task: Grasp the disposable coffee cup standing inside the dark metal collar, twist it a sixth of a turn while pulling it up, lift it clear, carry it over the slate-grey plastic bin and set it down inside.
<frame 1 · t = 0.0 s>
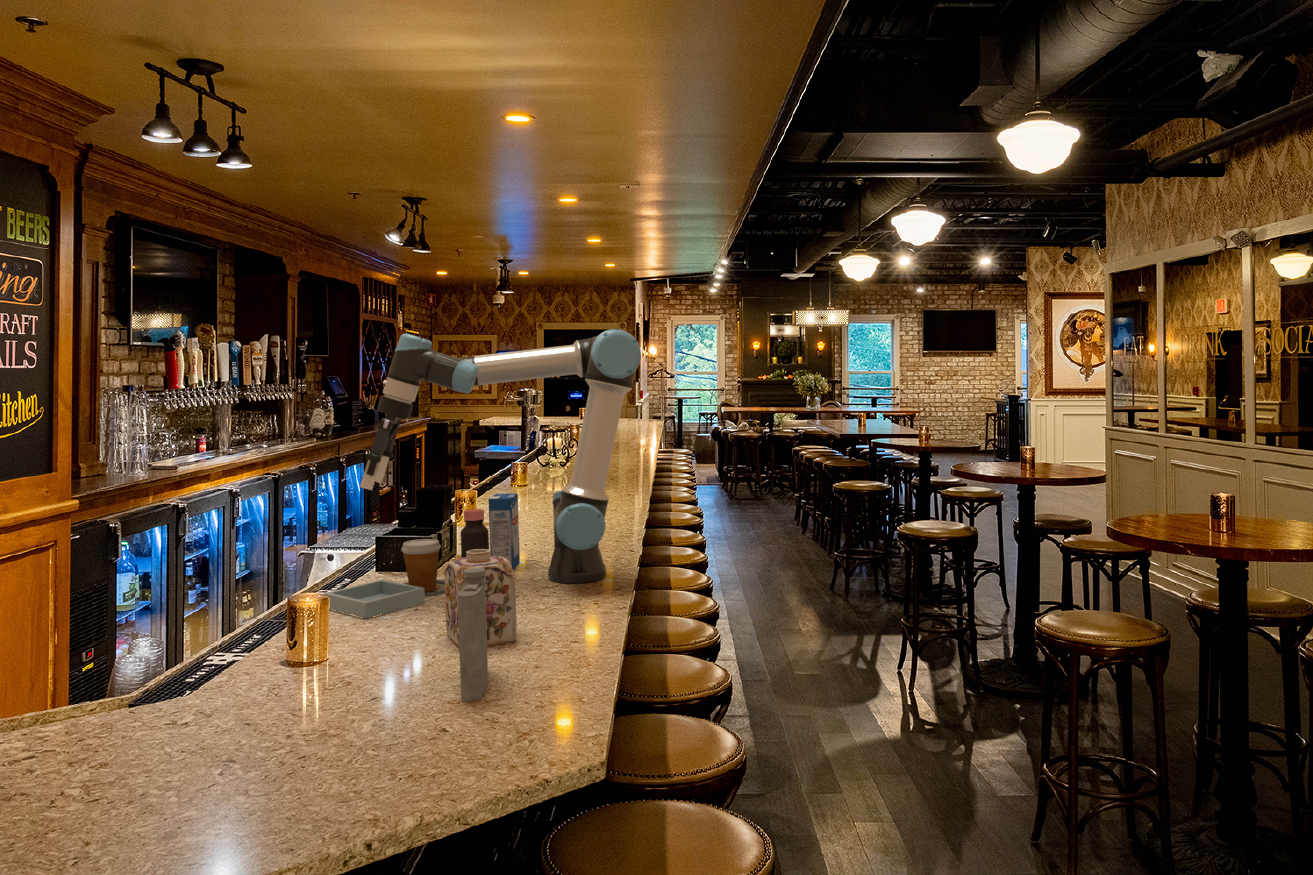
hand: (371, 485, 199), 28 cm above the bar counter, tool tilted 20°, fingers open, 13 cm apart
bin: (374, 605, 197), on the bar counter
decorative jar: (481, 639, 171), on the bar counter
milk carton: (505, 567, 235), on the bar counter
collar: (422, 589, 211), on the bar counter
hip flask: (476, 685, 145), on the bar counter
bottle: (476, 590, 210), on the bar counter
disposable coffee cup: (422, 590, 211), resting in collar
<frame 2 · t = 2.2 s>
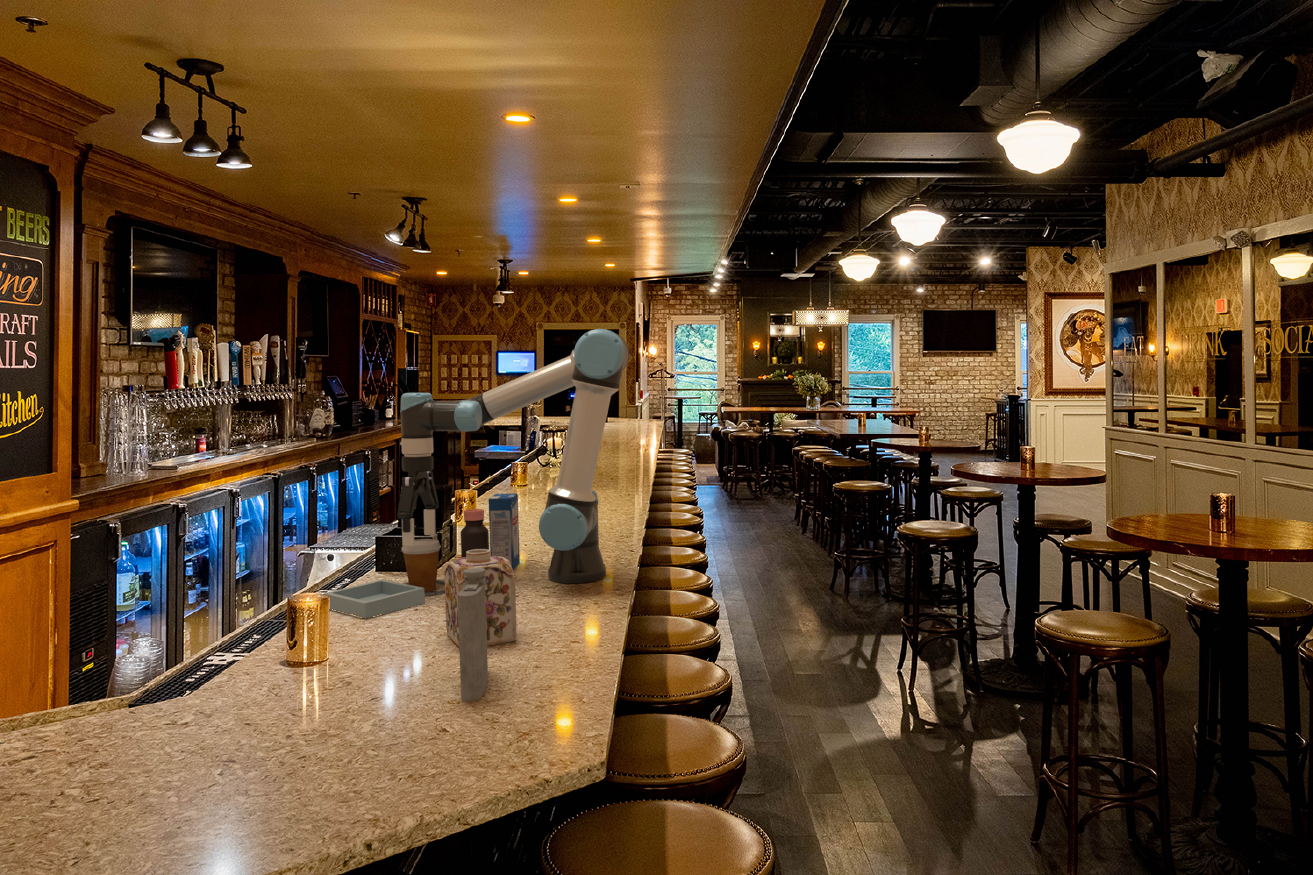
hand: (419, 539, 210), 13 cm above the bar counter, tool pointing down, fingers open, 13 cm apart
nothing on the bar counter moved.
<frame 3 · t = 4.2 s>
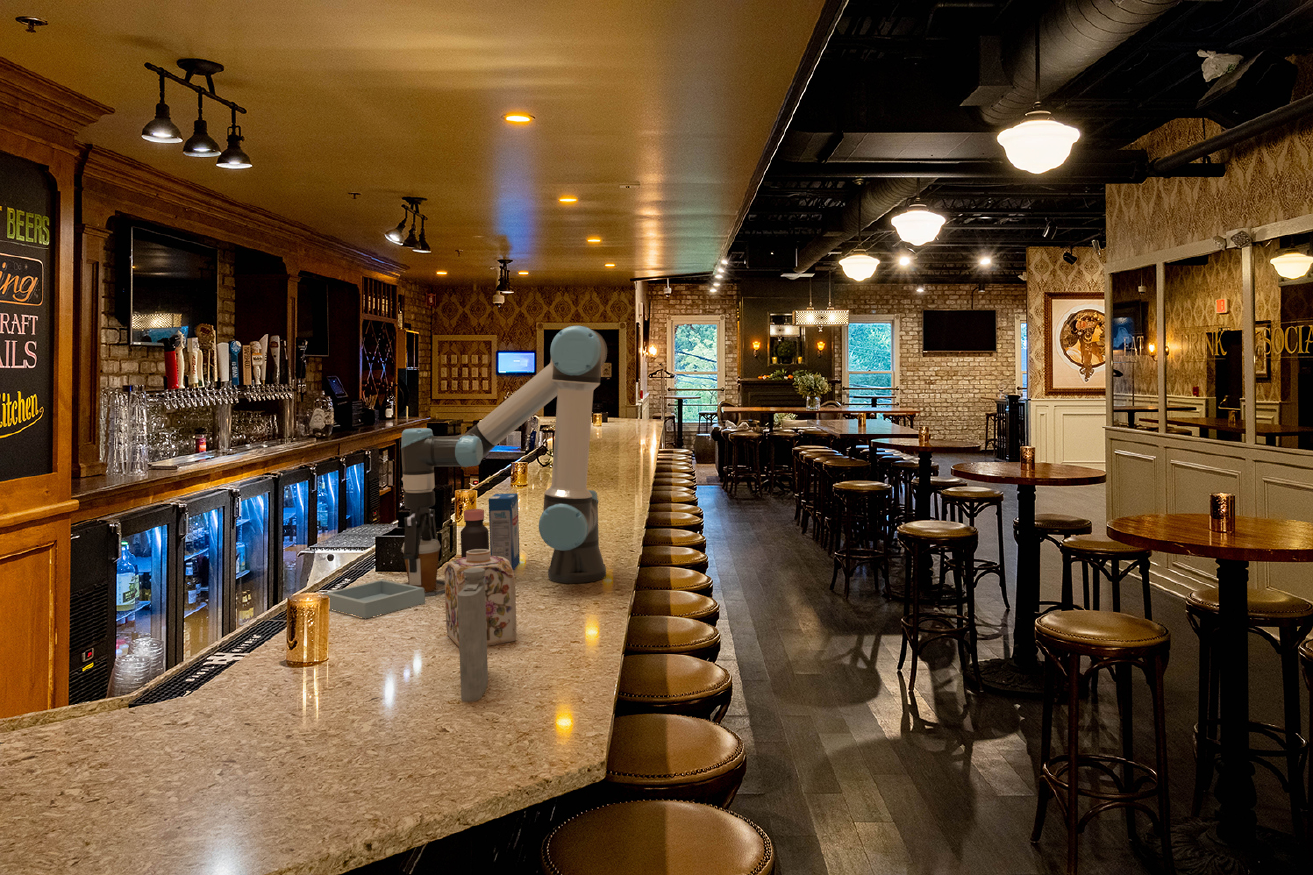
hand: (422, 580, 211), 2 cm above the bar counter, tool pointing down, fingers closed on disposable coffee cup, 8 cm apart
disposable coffee cup: (422, 590, 211), resting in collar, touching gripper
everything else where it was.
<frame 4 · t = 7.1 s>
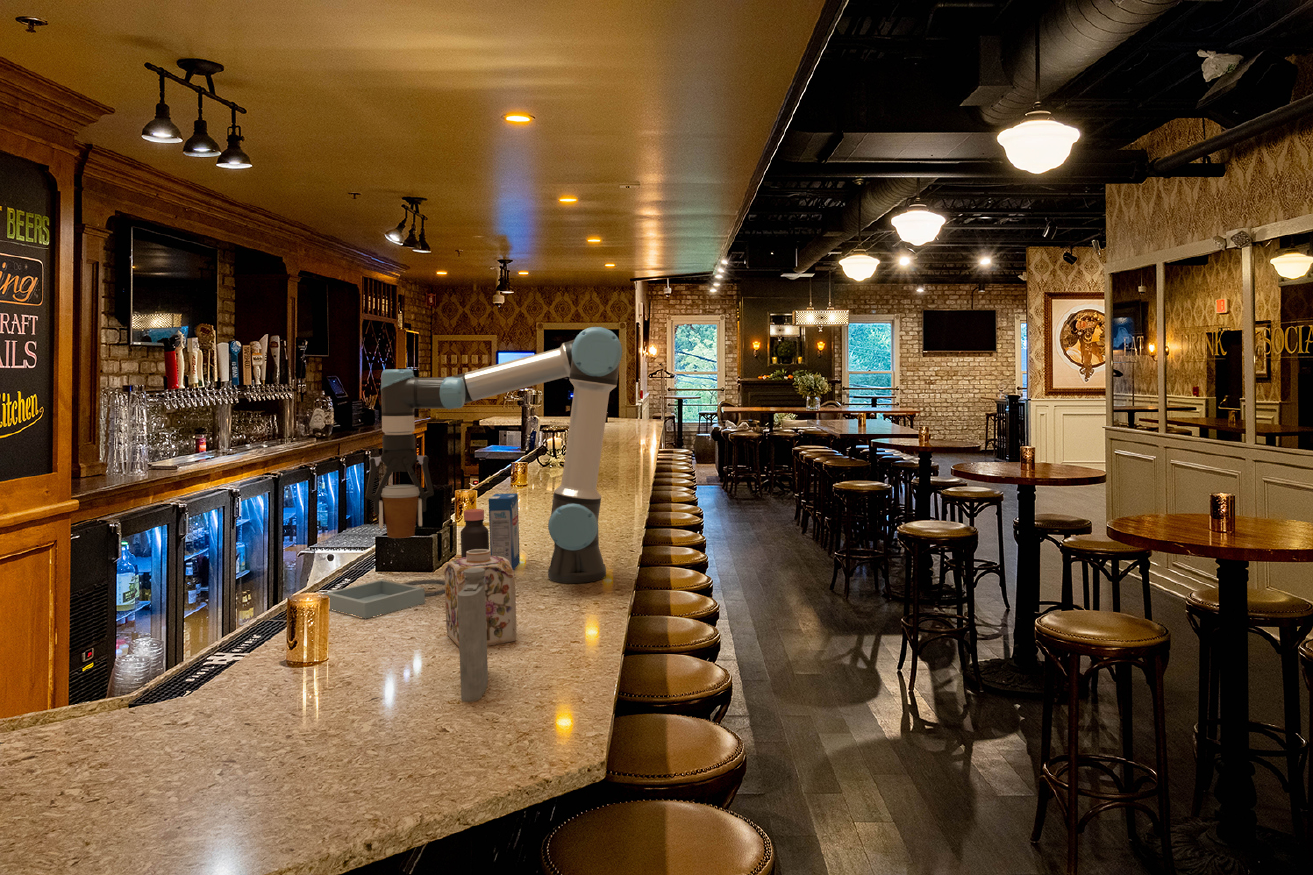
hand: (400, 526, 205), 17 cm above the bar counter, tool pointing down, fingers closed on disposable coffee cup, 8 cm apart
disposable coffee cup: (401, 536, 205), point 14 cm above the bar counter, touching gripper
everything else where it was.
when the fingers open (6 cm above the bar counter, at t = 10.4 s): disposable coffee cup drops 3 cm, resting on bin.
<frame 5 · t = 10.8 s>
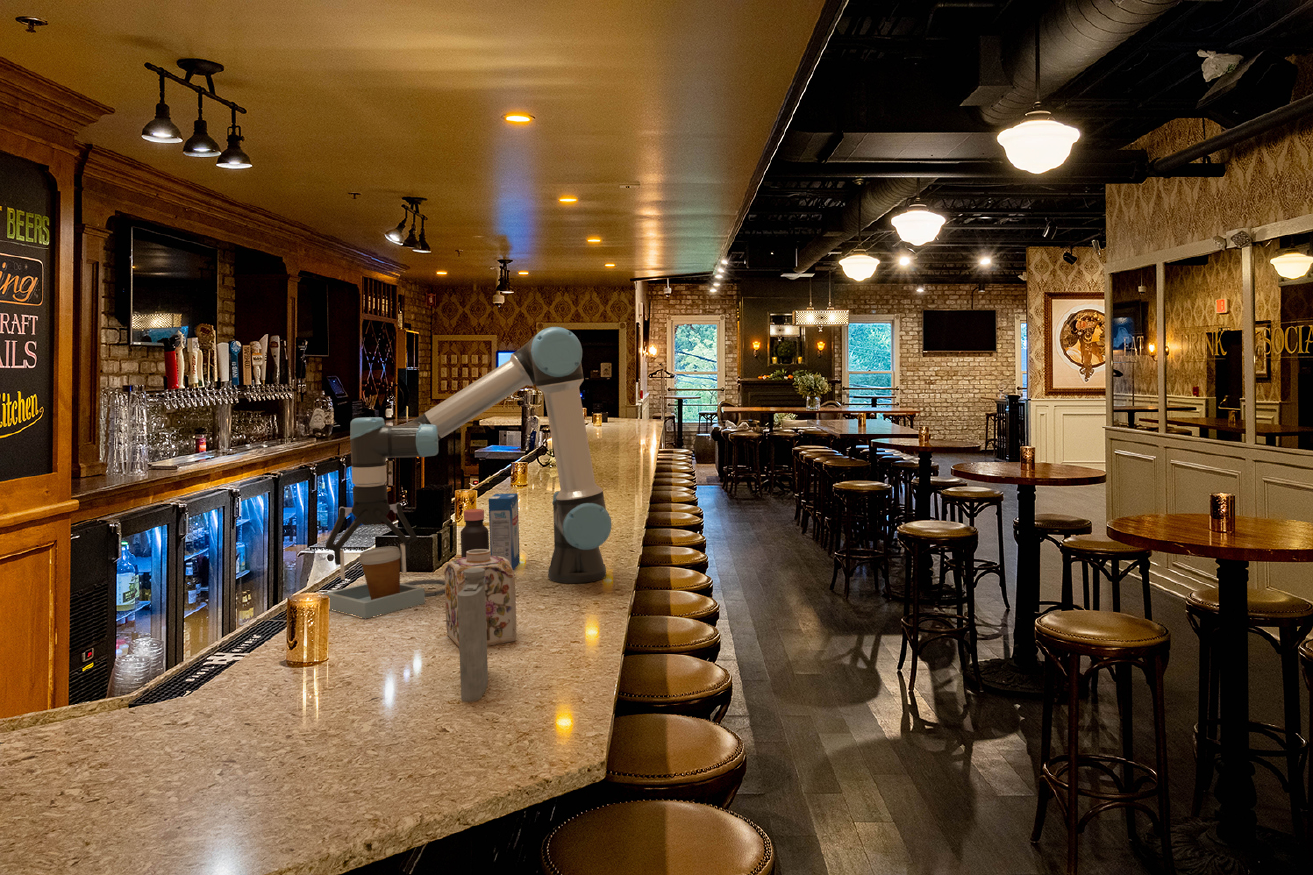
hand: (373, 575, 196), 7 cm above the bar counter, tool pointing down, fingers open, 13 cm apart
disposable coffee cup: (386, 601, 198), point 1 cm above the bar counter, touching bin, gripper
everything else where it was.
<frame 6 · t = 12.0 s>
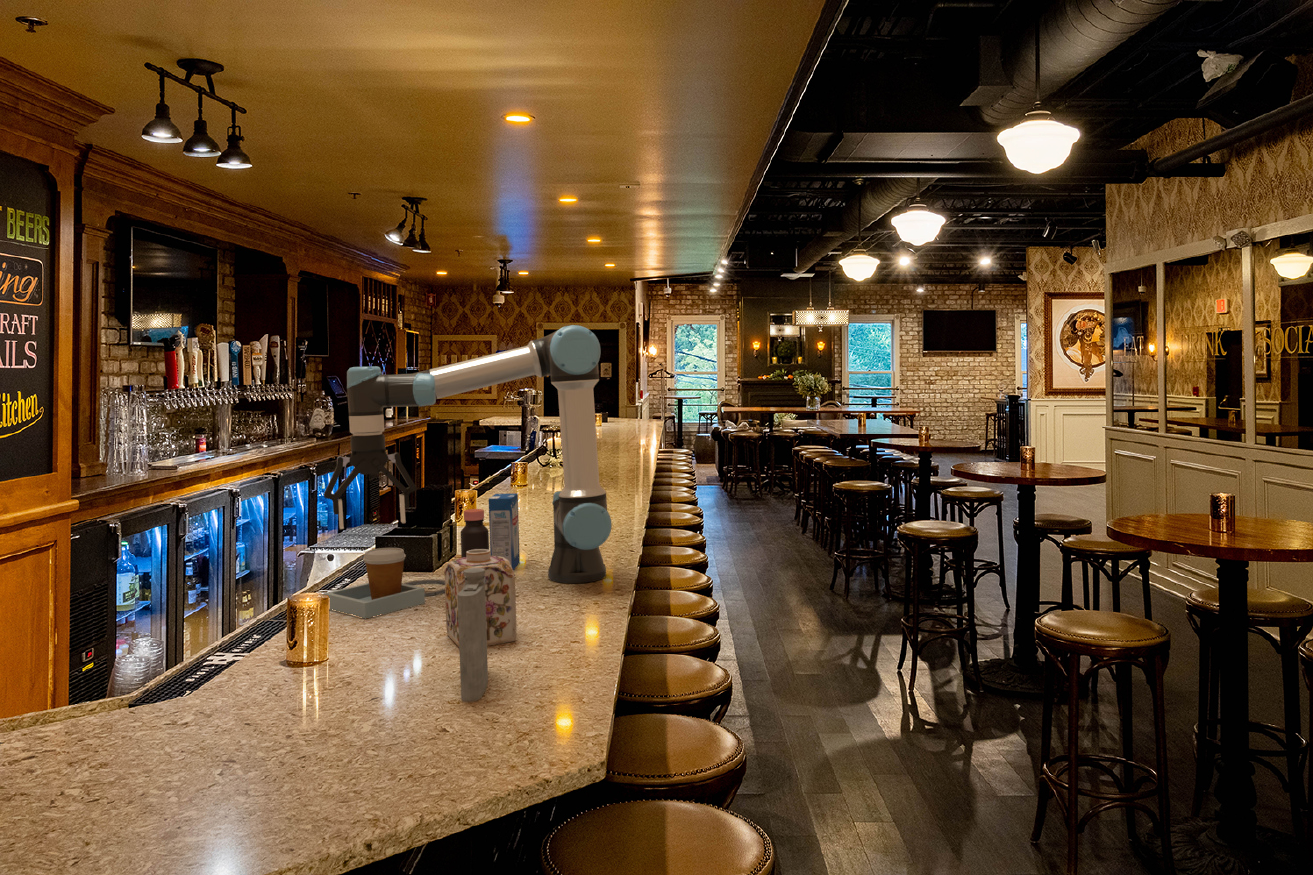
hand: (372, 525, 195), 19 cm above the bar counter, tool pointing down, fingers open, 13 cm apart
disposable coffee cup: (386, 602, 198), resting on bin
everything else where it was.
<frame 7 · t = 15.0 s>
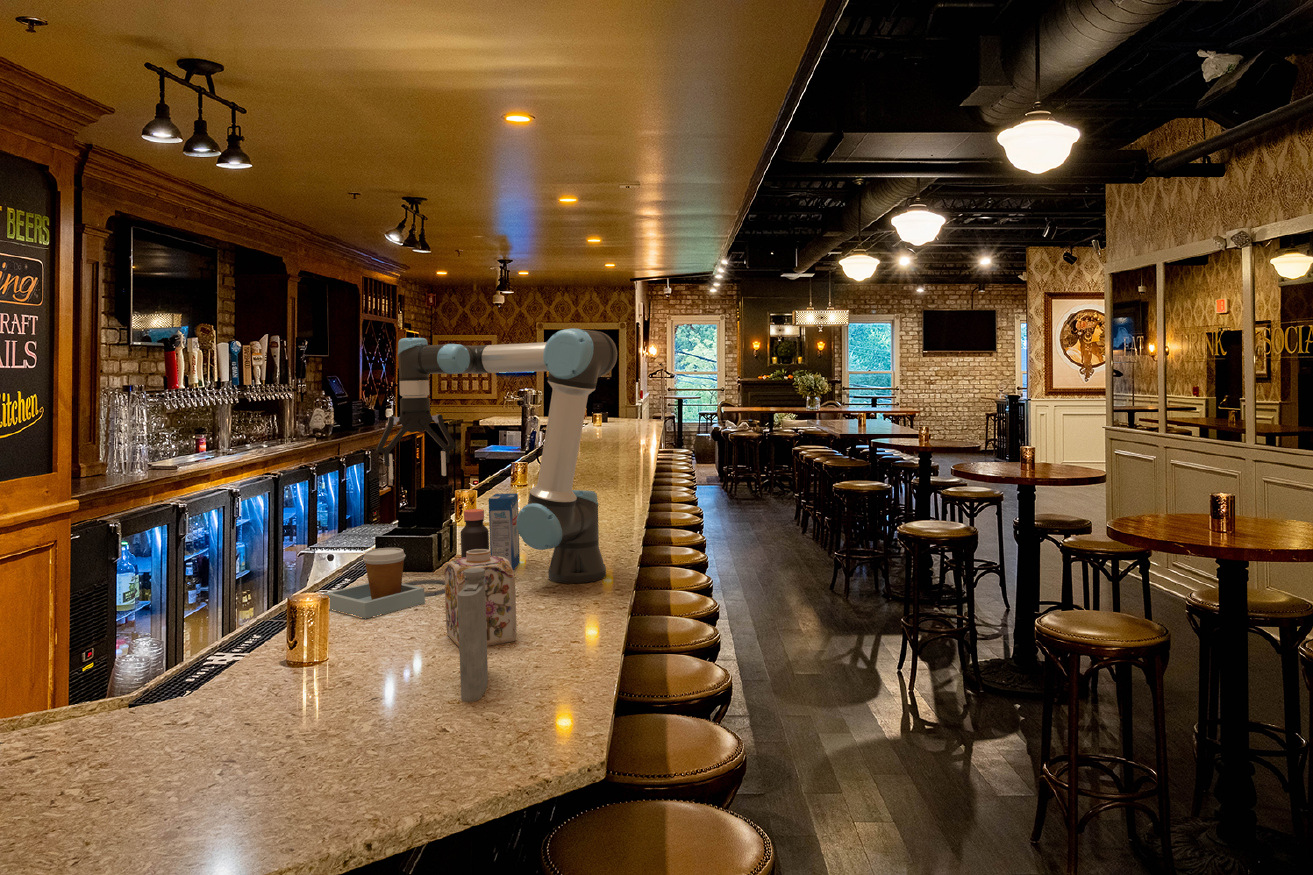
hand: (417, 477, 224), 27 cm above the bar counter, tool pointing down, fingers open, 13 cm apart
nothing on the bar counter moved.
at the end: disposable coffee cup inside the target area on the bin (2.5 cm from its centre), point 0.4 cm above the bin's base; disposable coffee cup tilted 0° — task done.
